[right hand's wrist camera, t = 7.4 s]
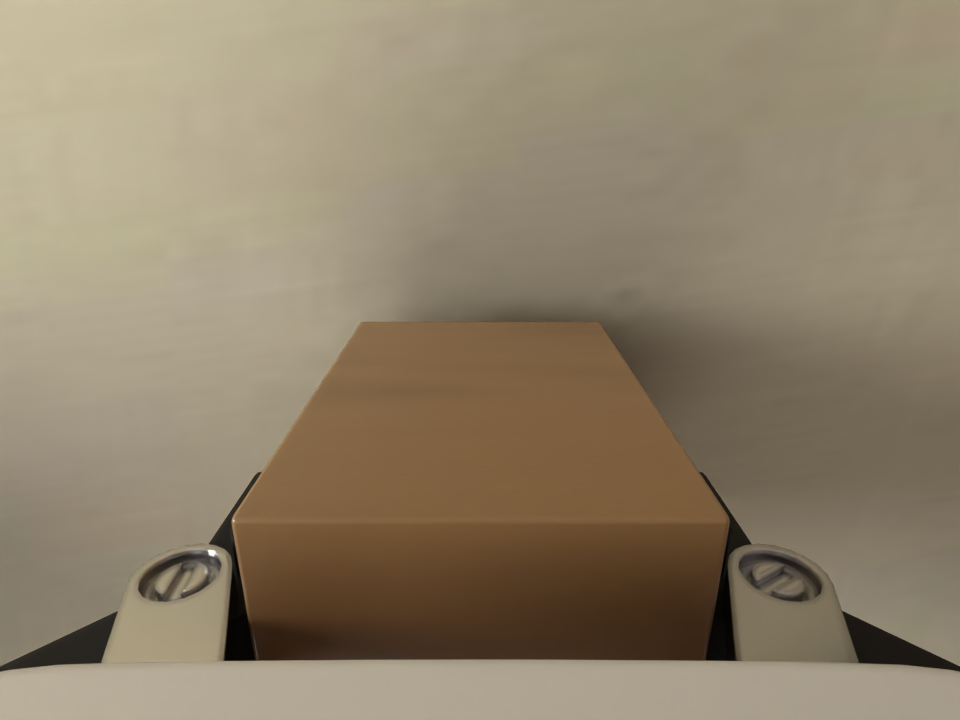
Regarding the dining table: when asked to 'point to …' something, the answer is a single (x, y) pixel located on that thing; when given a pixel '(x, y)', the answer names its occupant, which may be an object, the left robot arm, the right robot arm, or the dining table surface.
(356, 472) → the wooden block
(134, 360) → the dining table surface
